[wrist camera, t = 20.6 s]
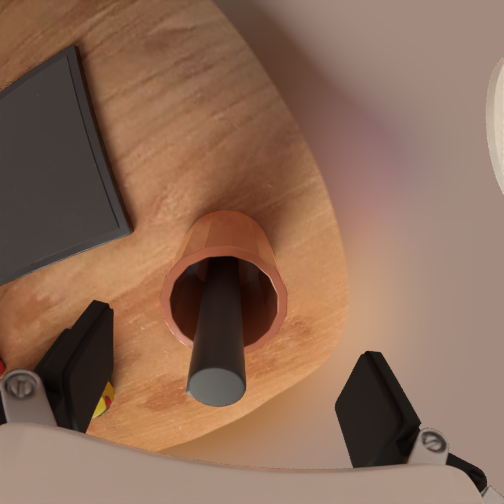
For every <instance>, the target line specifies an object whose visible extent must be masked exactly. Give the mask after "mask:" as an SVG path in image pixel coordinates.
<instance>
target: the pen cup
mask: <svg viewBox="0 0 504 504" xmlns="http://www.w3.org/2000/svg"><path fill="white" fill-rule="evenodd" d="M216 256H233V257H236V258H238V260H239V276H240V293H241V311H242V327H243V344H244V355H245V354H248V353H250V352H253V351H255V350H258V349H260V348H262V347H263V346H264V345H265V344H266V343H267V342H269V341H270V340H271V339H272V338H273V337H274V336H275V335H276V334H277V333H278V331H279V329H280V327H281V325H282V323H283V321H284V319H285V317H286V315H287V290H286V287H285V284H284V281H283V279H282V276H281V273H280V270H279V267H278V265H277V262H276V259H275V256H274V253H273V251H272V248H271V245H270V243H269V241H268V238H267V236H266V234H265V232H264V230H263V229H262V227H261V226H260V225H259V224H258V223H257V222H256V221H255V220H254V219H252V218H251V217H249V216H248V215H246V214H243V213H241V212H237V211H232V210H220V211H215V212H211V213H209V214H207V215H205V216H203V217H201V218H200V219H199V220H197V221H196V222H195V223H194V224H193V225H192V227H191V228H190V229H189V231H188V232H187V233H186V235H185V237H184V239H183V241H182V243H181V245H180V247H179V249H178V252H177V254H176V256H175V258H174V260H173V262H172V264H171V266H170V268H169V270H168V273H167V275H166V277H165V280H164V284H163V287H162V291H161V295H160V303H161V309H162V314H163V319H164V321H165V323H166V324H167V326H168V327H169V329H170V330H171V332H172V333H173V335H174V336H175V337H176V339H178V340H179V341H181V342H182V343H183V344H185V345H186V346H188V347H189V348H190V349H192V350H193V344H194V338H195V335H196V329H197V323H198V317H199V312H200V306H201V300H202V295H203V289H204V284H205V278H206V273H207V268H208V262H209V258H210V257H216Z"/></svg>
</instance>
